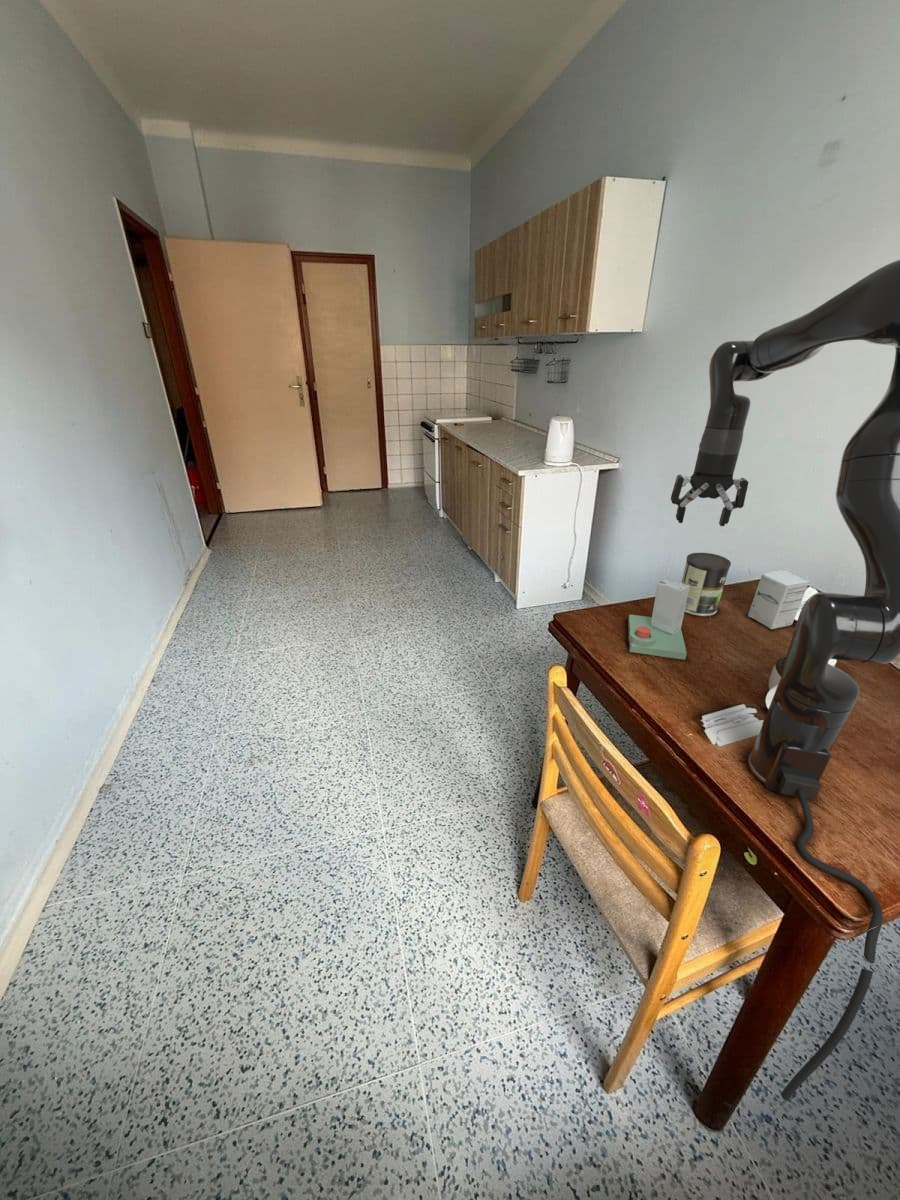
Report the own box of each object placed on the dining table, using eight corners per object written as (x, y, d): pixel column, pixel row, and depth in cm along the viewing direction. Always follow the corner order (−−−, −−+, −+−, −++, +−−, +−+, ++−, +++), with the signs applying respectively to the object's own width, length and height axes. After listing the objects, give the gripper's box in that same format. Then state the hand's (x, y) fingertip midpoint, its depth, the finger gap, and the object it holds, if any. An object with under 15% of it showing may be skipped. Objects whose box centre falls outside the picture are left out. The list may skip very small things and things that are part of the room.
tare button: (649, 640, 109) (651, 633, 108) (636, 638, 110) (637, 631, 109) (648, 633, 112) (650, 627, 111) (635, 631, 113) (636, 625, 112)
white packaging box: (746, 616, 124) (760, 572, 118) (768, 611, 126) (783, 568, 120) (770, 630, 118) (787, 585, 112) (793, 625, 120) (810, 580, 114)
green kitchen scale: (685, 660, 107) (688, 647, 106) (627, 651, 111) (629, 639, 109) (677, 626, 120) (680, 615, 118) (626, 620, 123) (628, 608, 122)
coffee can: (718, 603, 130) (732, 556, 124) (715, 620, 123) (729, 570, 116) (678, 595, 135) (689, 549, 128) (672, 610, 127) (684, 562, 121)
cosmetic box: (681, 629, 115) (692, 585, 110) (671, 636, 113) (682, 591, 107) (657, 619, 120) (667, 576, 114) (648, 626, 117) (657, 582, 111)
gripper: (684, 451, 97) (668, 526, 105) (762, 454, 93) (739, 532, 101) (679, 445, 103) (664, 516, 111) (752, 447, 100) (732, 520, 107)
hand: (700, 523), depth 106 cm, fingers open, 8 cm apart
